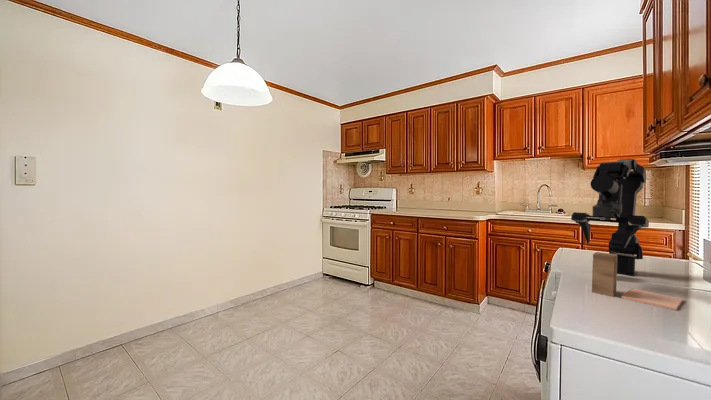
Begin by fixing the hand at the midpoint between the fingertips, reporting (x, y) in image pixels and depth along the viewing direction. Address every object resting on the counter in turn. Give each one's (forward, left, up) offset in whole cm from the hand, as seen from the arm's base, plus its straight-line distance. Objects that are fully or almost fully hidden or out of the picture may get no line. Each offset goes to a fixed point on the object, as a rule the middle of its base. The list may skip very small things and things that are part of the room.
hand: (605, 245), depth 96 cm
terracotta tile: (+2, +11, -14) cm, 18 cm away
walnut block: (+6, +1, -14) cm, 15 cm away
